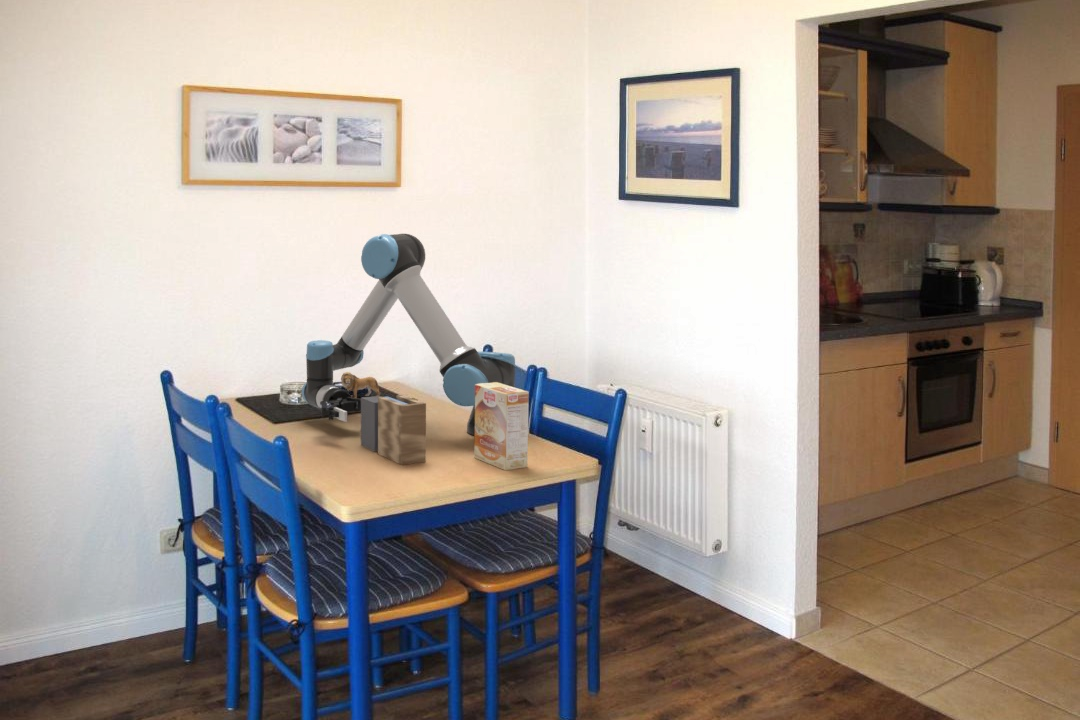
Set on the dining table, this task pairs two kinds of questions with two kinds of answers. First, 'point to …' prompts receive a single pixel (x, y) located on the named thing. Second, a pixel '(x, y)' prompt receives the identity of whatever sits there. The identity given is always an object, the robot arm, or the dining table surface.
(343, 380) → the lion figurine
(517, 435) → the coffeecake box
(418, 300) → the robot arm
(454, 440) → the dining table surface
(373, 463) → the dining table surface
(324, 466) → the dining table surface
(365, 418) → the block
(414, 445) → the box
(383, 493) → the dining table surface
